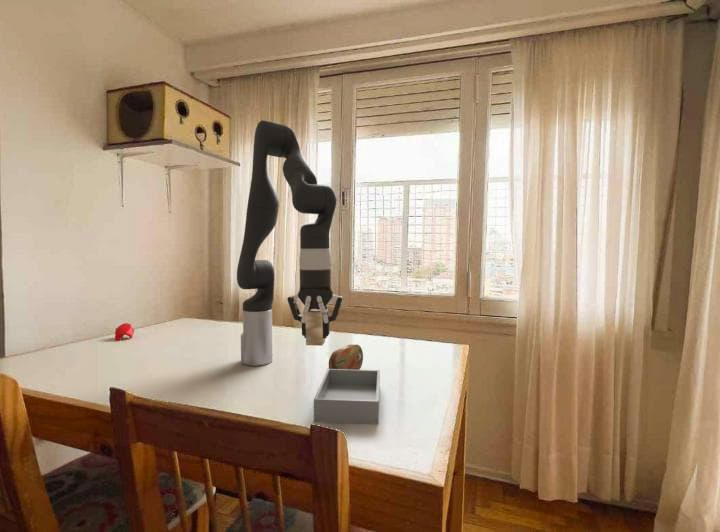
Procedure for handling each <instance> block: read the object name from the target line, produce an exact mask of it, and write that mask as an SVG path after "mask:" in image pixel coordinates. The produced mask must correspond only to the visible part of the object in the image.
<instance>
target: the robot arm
mask: <svg viewBox="0 0 720 532" xmlns="http://www.w3.org/2000/svg"><path fill="white" fill-rule="evenodd" d="M253 138H254V139H253V151H252V170H251V181H250V186H249V187H250V188H249V193H248V201H247V206H246V214H245V215H246V216H245V224H244V234H243V241H242V244H241V251H240V255H239V259H238V263H237V269H236V281H237V285H238V287H239V288H240V289H242V290H256V292H255V294H254V295H252V296H251V297H248V298H247V299H246V300H244V301H243V302H242V333H241V334H240V364H242V365H246V366H253V367H257V366H264V365H265V366H266V365H268V364H271V363H272V362H273V355H274V354H273V303H274V298H275V297H274V295H275V290H274V289H275V270H274V266H273V263H272V262H271V261H270V260H266V259H258V260H257V254H258V251H259V250H260V249H259V248H260V247H261V245H262V244H263V242H265V240H266V239H267V238H268V236H269V235H270V234H271V232H272V231H273V229H274V228H275V227H276V225H277V220H278V216H279V209H280V201H279V200H280V199H279V196H278V194H277V192H276V189H275V187H274V186H275V185H273V182H272V180H271V177H270V174H269V169H268V156H271V157H275V158H284V159H285V160H284V162H283V165H282V174H283V176H284V178H285V181H286V183H288V185H289V187H290V192H291V200H292V201H291V202H292V206H293V208H294V209H295V210H296V211H297V212H298V213H301V214H304V215H306V214H307V215H317V218H316V220H315V221H314V222H312V223H311V222H310V223H306V224H303V225H302V226H301V227H300V230H299V236H300V238H299V240H300V241H299V242H300V246H299V247H300V250H299V260H298V261H299V290H298V292H297V294H295V295H290V296H288V297H287V298H286V299H287V302H288V305H289V308H290V311H291V315H292V317H293V319H294V321H298V322H300V324H301V336H303V337H304V339H306V312H309V311H310V310H320V312H322V314H323V321H324V323H323V338H324V339H325V340H326V339H327V338H328V337H329V335H330V334H331V333H330V323H331V322H334V321H336V320H337V318H338V316H339V313H340V309H341V307H342V304H343V301H344V296H342V295H337V294H334V293H333V291H332V276H331V275H332V269H331V267H332V261H331V259H332V257H331V251H330V232H331V227H332V222H333V218H334V215H335V211H336V207H337V195H336V192H335V190H334V188H332V187H331V186H329V185H324V184H318V179H317V176H316V174H315V173H314V171H313V169H312V168H311V166H310V165H309V164H308V162H307V161H306V159H305V157H304V155H303V154H304V153H303V151H302V148H301V145H300V143H299V141H298V137H297V135H296V133H295V131H294V130H293V129H292V128H291V127H289V126H287V125H284V124H281V123H276V122H272V121H268V120H260V121H259V122H258V123H257V125H256V128H255V132H254V137H253ZM299 300H300V302H301V303H302V305H304V306H303V310H302V314H301V312H300V309H299V306H298V303H299ZM331 300H332V303H333V305H334V307H333V310H332V313H331V314H330V313H329V309H328V304H329V302H331Z"/></svg>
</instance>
